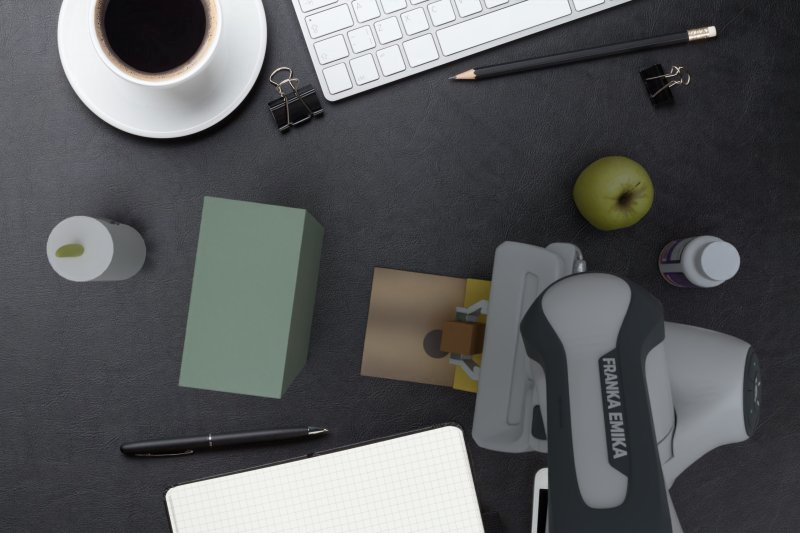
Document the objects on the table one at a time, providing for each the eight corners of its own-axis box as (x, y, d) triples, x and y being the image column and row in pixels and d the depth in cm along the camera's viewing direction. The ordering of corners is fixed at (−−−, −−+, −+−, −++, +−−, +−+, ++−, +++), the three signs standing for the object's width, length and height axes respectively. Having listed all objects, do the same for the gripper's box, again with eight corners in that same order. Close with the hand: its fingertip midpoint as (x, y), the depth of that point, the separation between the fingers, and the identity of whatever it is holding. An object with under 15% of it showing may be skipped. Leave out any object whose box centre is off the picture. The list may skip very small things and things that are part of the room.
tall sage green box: (306, 363, 83) (280, 399, 59) (233, 354, 83) (178, 386, 59) (324, 228, 84) (306, 209, 60) (252, 218, 83) (204, 195, 59)
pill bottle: (710, 279, 85) (753, 279, 75) (665, 292, 85) (702, 294, 75) (696, 232, 85) (738, 227, 75) (651, 246, 85) (687, 242, 75)
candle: (155, 233, 83) (107, 224, 68) (133, 289, 83) (80, 292, 68) (101, 212, 83) (41, 198, 68) (79, 268, 83) (14, 266, 68)
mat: (538, 397, 84) (539, 398, 84) (360, 374, 84) (360, 375, 83) (552, 290, 84) (553, 290, 84) (374, 266, 84) (374, 266, 83)
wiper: (492, 393, 82) (467, 403, 73) (457, 387, 83) (428, 395, 74) (506, 283, 82) (483, 279, 73) (471, 278, 83) (444, 274, 75)
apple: (571, 146, 84) (625, 141, 74) (628, 173, 86) (686, 171, 77) (546, 213, 84) (597, 216, 74) (603, 238, 86) (659, 245, 77)
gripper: (571, 239, 67) (449, 231, 76) (541, 470, 67) (423, 433, 76) (605, 248, 71) (487, 239, 81) (577, 464, 71) (462, 430, 81)
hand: (456, 335), depth 78 cm, fingers closed on wiper, 3 cm apart
